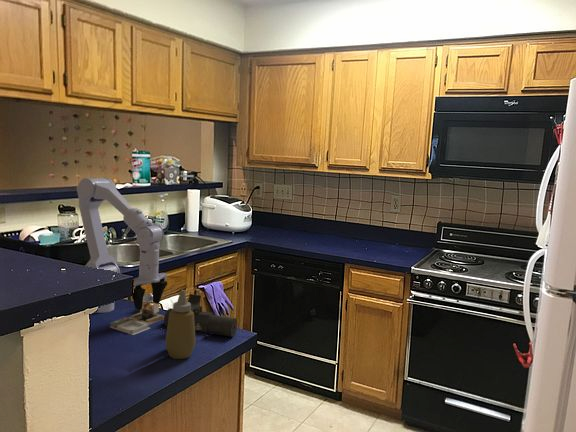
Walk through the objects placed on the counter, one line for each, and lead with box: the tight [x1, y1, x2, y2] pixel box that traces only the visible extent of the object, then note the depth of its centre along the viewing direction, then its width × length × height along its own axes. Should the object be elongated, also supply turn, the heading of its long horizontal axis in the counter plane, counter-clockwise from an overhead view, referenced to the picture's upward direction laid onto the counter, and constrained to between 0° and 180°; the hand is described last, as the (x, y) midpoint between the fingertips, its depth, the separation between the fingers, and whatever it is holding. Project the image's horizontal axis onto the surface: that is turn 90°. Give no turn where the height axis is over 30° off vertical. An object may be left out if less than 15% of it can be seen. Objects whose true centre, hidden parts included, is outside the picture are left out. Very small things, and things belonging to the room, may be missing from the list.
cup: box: [139, 297, 160, 314], centre depth 158 cm, size 6×6×5 cm
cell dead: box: [144, 292, 153, 301], centre depth 157 cm, size 4×4×6 cm
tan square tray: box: [129, 311, 164, 326], centre depth 150 cm, size 7×8×2 cm
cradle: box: [109, 316, 151, 336], centre depth 142 cm, size 10×7×2 cm
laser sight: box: [163, 293, 238, 338], centre depth 145 cm, size 10×22×10 cm, turn 78°
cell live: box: [141, 301, 154, 322], centre depth 149 cm, size 4×4×6 cm
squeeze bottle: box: [164, 289, 197, 360], centre depth 127 cm, size 8×8×18 cm
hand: (147, 305), depth 149 cm, fingers open, 7 cm apart
